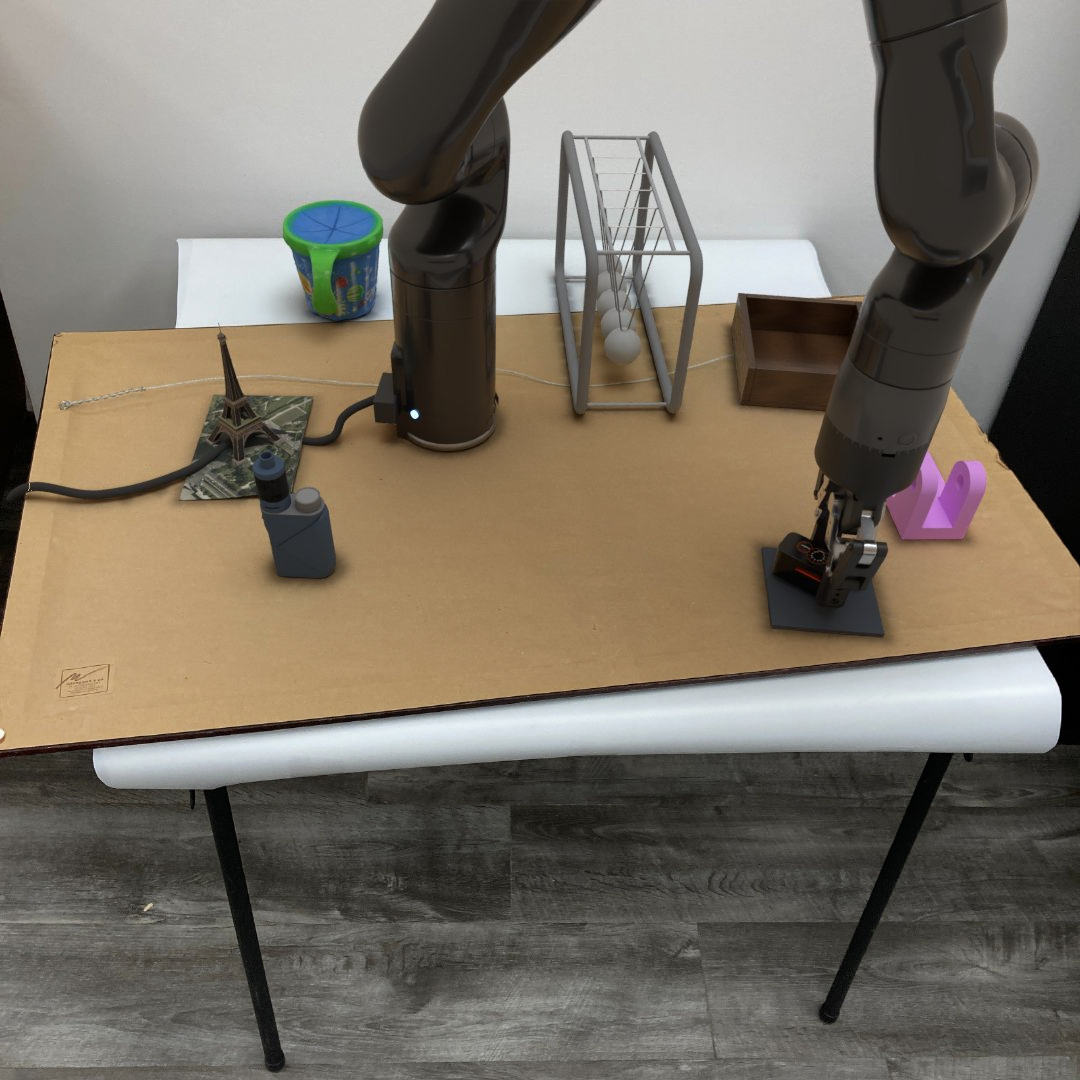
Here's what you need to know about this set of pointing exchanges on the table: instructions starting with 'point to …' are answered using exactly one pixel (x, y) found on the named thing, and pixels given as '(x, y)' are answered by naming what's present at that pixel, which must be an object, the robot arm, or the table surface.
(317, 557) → the vaping device
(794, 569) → the black electronic gadget
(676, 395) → the newton's cradle
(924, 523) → the bracket
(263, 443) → the eiffel tower figurine
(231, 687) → the table surface
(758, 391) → the wooden box
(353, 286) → the snack cup
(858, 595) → the pad
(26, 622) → the table surface
